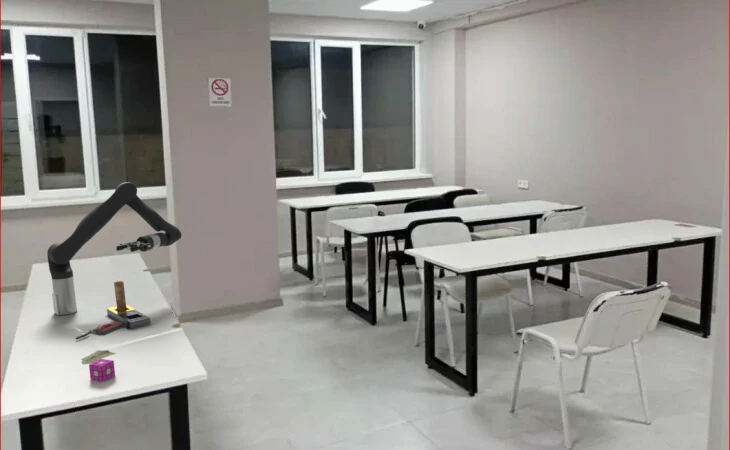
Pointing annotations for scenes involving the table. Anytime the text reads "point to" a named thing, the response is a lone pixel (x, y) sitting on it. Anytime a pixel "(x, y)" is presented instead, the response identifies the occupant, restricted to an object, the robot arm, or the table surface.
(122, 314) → the socket rail
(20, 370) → the table surface
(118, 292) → the walnut peg
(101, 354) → the topographic map
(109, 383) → the table surface
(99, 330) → the walkie-talkie
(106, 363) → the puzzle toy
